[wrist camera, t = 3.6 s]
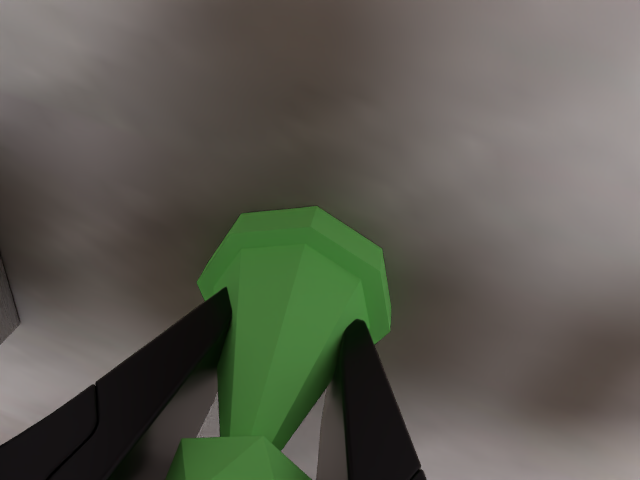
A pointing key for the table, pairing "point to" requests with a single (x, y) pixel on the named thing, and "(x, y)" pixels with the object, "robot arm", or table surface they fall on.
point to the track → (6, 307)
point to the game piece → (281, 334)
